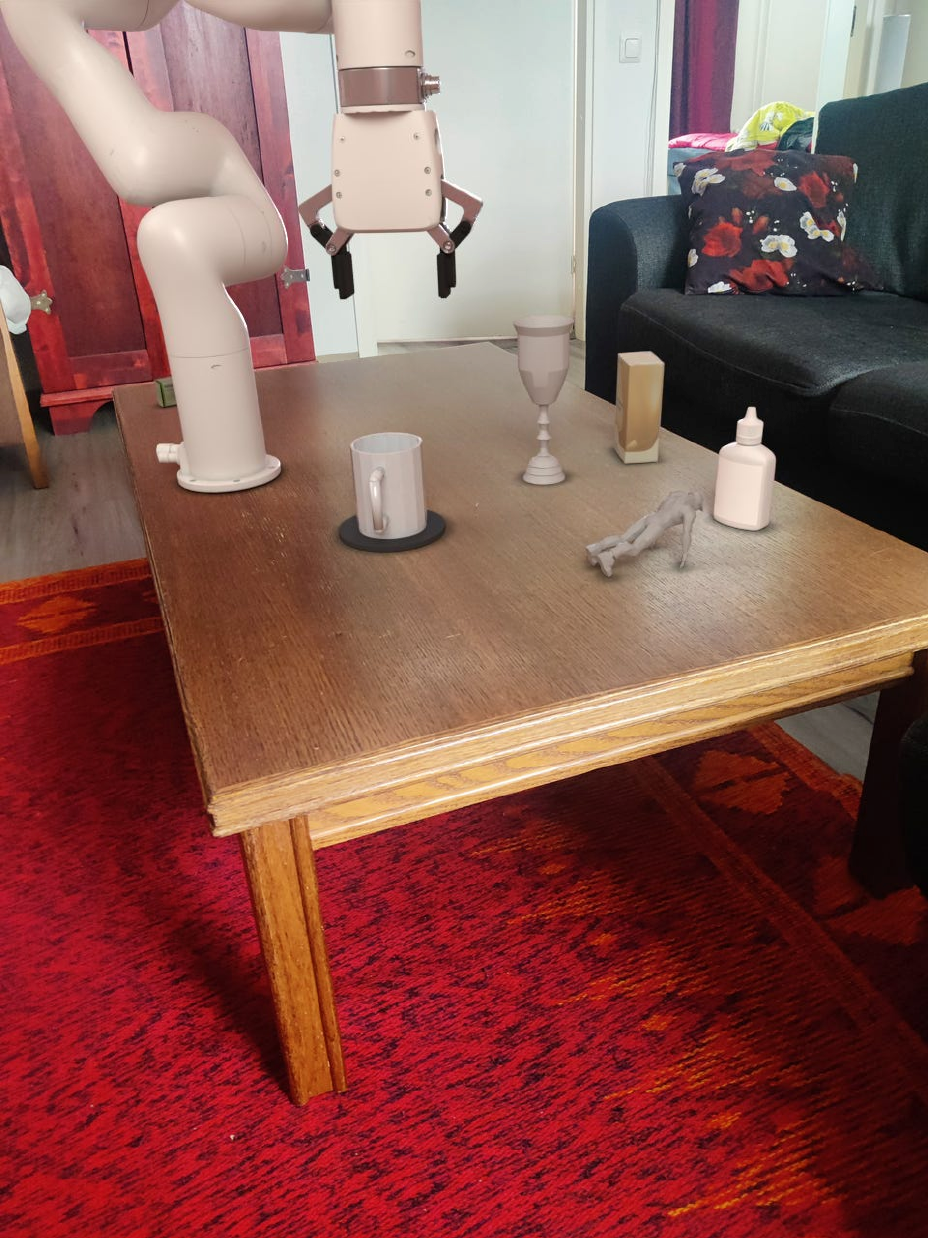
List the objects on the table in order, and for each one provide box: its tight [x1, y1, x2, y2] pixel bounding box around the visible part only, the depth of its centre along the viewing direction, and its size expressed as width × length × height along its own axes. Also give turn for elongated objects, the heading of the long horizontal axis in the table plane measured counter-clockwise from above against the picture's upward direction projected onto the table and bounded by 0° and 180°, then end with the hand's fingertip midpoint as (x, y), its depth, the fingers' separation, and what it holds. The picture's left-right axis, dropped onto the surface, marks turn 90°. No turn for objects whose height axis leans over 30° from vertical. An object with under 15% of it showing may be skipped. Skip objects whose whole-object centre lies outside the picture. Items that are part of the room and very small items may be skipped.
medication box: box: [153, 376, 177, 408], centre depth 152 cm, size 12×3×4 cm, turn 126°
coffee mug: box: [349, 431, 428, 539], centre depth 96 cm, size 10×7×9 cm
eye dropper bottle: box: [713, 406, 777, 532], centre depth 95 cm, size 4×6×12 cm
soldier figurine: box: [584, 490, 705, 578], centre depth 89 cm, size 6×5×12 cm
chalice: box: [512, 314, 575, 485], centre depth 109 cm, size 7×7×18 cm
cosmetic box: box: [613, 351, 665, 465], centre depth 116 cm, size 6×4×12 cm
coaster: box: [338, 509, 447, 553], centre depth 100 cm, size 11×11×1 cm
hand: (395, 296), depth 91 cm, fingers open, 9 cm apart
